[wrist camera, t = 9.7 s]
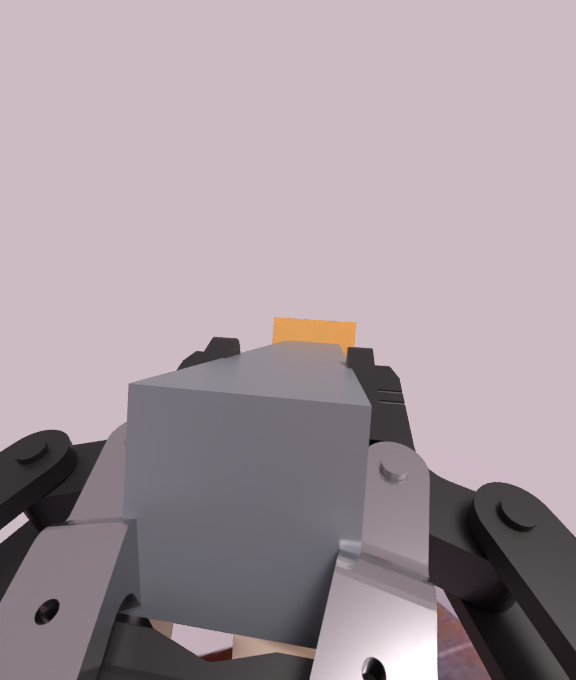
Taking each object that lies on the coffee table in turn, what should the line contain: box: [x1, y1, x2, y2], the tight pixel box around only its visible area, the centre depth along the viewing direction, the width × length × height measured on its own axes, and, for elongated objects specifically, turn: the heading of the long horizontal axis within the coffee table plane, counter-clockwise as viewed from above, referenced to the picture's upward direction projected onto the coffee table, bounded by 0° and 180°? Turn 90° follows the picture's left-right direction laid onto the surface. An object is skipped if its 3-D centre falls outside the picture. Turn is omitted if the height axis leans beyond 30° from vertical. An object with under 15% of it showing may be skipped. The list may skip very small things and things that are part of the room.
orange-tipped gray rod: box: [118, 317, 372, 649], centre depth 17 cm, size 6×24×5 cm, turn 173°
